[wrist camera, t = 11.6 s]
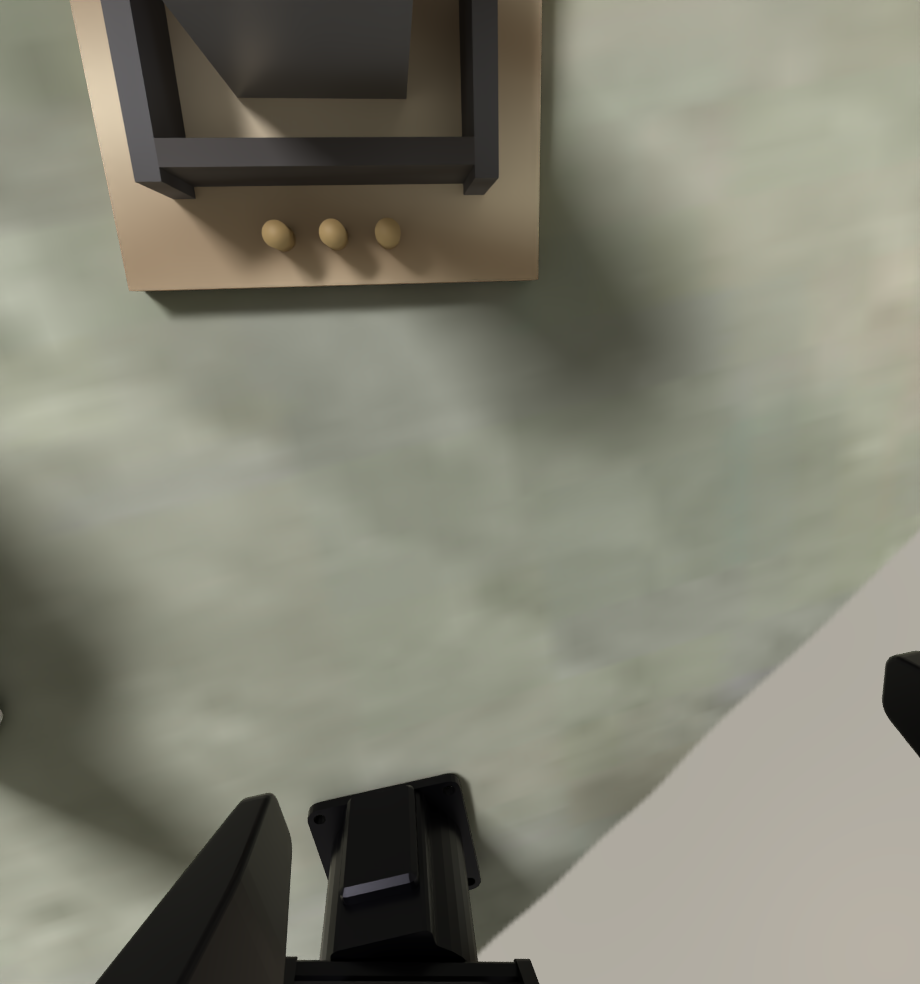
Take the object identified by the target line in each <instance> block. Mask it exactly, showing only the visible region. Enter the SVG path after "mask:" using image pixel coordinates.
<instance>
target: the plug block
mask: <svg viewBox="0 0 920 984" xmlns="http://www.w3.org/2000/svg"><path fill="white" fill-rule="evenodd" d="M162 1H163V2H164V3H165V5H166V6H167V7H168V9H169V10H170V11H171V12H172V14H173V15H174V16H175V18H176V19H177V20H178V21H179V23H180V24H181V25H182V27H183V28H184V29H185V31H186V32H187V33H188V34H189V36H190V37H191V38H192V40H193V41H194V42H195V44H196V45H197V46H198V47H199V49H200V50H201V51H202V53H203V54H204V55H205V56H206V58H207V59H208V60H209V62H210V63H211V64H212V66H213V67H214V68H215V69H216V71H217V72H218V73H219V75H220V76H221V77H222V78H223V80H224V81H225V82H226V84H227V85H228V86H229V88H230V89H231V90H232V91H233V93H234V94H235V95H236V97H237V98H332V99H406V98H407V83H408V68H409V53H410V38H411V23H412V8H413V0H162Z"/></svg>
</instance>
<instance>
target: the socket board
mask: <svg viewBox="0 0 920 984" xmlns="http://www.w3.org/2000/svg"><path fill="white" fill-rule="evenodd" d="M70 4H71V8H72V13H73V18H74V23H75V28H76V33H77V38H78V43H79V48H80V52H81V57H82V62H83V67H84V72H85V77H86V82H87V87H88V92H89V97H90V101H91V106H92V111H93V116H94V121H95V126H96V131H97V136H98V141H99V146H100V150H101V155H102V160H103V165H104V170H105V175H106V180H107V185H108V190H109V195H110V199H111V204H112V209H113V214H114V219H115V224H116V229H117V234H118V239H119V243H120V248H121V253H122V258H123V263H124V268H125V273H126V278H127V283H128V288H129V291H174V290H210V289H245V288H280V287H315V286H350V285H385V284H420V283H455V282H490V281H525V280H537V279H538V258H539V186H540V115H541V43H542V0H413V8H412V23H411V38H410V53H409V68H408V83H407V98H406V99H332V98H237V97H236V95H235V94H234V93H233V91H232V90H231V89H230V88H229V86H228V85H227V84H226V82H225V81H224V80H223V78H222V77H221V76H220V75H219V73H218V72H217V71H216V69H215V68H214V67H213V66H212V64H211V63H210V62H209V60H208V59H207V58H206V56H205V55H204V54H203V53H202V51H201V50H200V49H199V47H198V46H197V45H196V44H195V42H194V41H193V40H192V38H191V37H190V36H189V34H188V33H187V32H186V31H185V29H184V28H183V27H182V25H181V24H180V23H179V21H178V20H177V19H176V18H175V16H174V15H173V14H172V12H171V11H170V10H169V9H168V7H167V6H166V5H165V3H164V2H163V1H162V0H70Z"/></svg>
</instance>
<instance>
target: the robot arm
mask: <svg viewBox="0 0 920 984" xmlns="http://www.w3.org/2000/svg"><path fill="white" fill-rule="evenodd" d="M882 703H883V707H884V710H885V713H886V715H887V716H888V718H889V719H890V721H891V722H892V723H893V725H894V726H895V727H896V728H897V730H898V731H899V732H900V733H901V735H902V736H903V737H904V738H905V740H906V741H907V742H908V743H909V745H910V746H911V747H912V748H913V750H914V751H915V752H916V753H917V754H918V756H919V757H920V651H912V652H908V653H903V654H899V655H894V656H892V657H890V658H889V659H888V660H887V662H886V666H885V677H884V685H883V695H882ZM447 786H452V787H449V788H445V787H447ZM318 815H323V816H318ZM308 824H309V827H310V830H311V833H312V836H313V838H314V841H315V844H316V847H317V850H318V853H319V856H320V859H321V861H322V864H323V867H324V870H325V873H326V876H327V879H328V888H327V897H326V906H325V915H324V924H323V933H322V942H321V951H320V960H297V957H286V941H287V925H288V909H289V893H290V877H291V861H292V843H291V837H290V833H289V830H288V827H287V825H286V822H285V819H284V817H283V814H282V811H281V808H280V806H279V803H278V800H277V798H276V797H275V796H274V794H272V793H265V794H261V795H256V796H252V797H247V798H245V799H243V800H242V801H241V802H240V803H239V804H238V805H237V806H236V807H235V809H234V810H233V811H232V813H231V814H230V815H229V816H228V818H227V819H226V820H225V821H224V823H223V824H222V825H221V826H220V828H219V829H218V830H217V831H216V833H215V834H214V835H213V836H212V838H211V839H210V840H209V841H208V843H207V844H206V845H205V846H204V848H203V849H202V850H201V851H200V853H199V854H198V855H197V856H196V858H195V859H194V860H193V861H192V863H191V864H190V865H189V866H188V868H187V869H186V870H185V871H184V873H183V874H182V875H181V877H180V878H179V879H178V880H177V882H176V883H175V884H174V885H173V887H172V888H171V889H170V890H169V892H168V893H167V894H166V895H165V897H164V898H163V899H162V900H161V902H160V903H159V904H158V905H157V907H156V908H155V909H154V910H153V912H152V913H151V914H150V915H149V917H148V918H147V919H146V920H145V922H144V923H143V924H142V925H141V927H140V928H139V929H138V930H137V932H136V933H135V934H134V935H133V937H132V938H131V939H130V941H129V942H128V943H127V944H126V946H125V947H124V948H123V949H122V951H121V952H120V953H119V954H118V956H117V957H116V958H115V959H114V961H113V962H112V963H111V964H110V966H109V967H108V968H107V969H106V971H105V972H104V973H103V974H102V976H101V977H100V978H99V979H98V981H97V982H96V983H95V984H539V982H538V979H537V977H536V974H535V971H534V969H533V966H532V963H531V961H530V959H514V962H478V958H477V951H476V943H475V935H474V927H473V919H472V912H471V904H470V896H469V890H472V889H474V888H476V887H477V886H479V884H480V882H481V878H480V872H479V867H478V862H477V858H476V853H475V849H474V844H473V840H472V835H471V831H470V826H469V822H468V817H467V813H466V808H465V804H464V799H463V794H462V790H461V785H460V781H459V779H458V777H457V776H455V775H453V774H445V775H440V776H436V777H431V778H427V779H422V780H418V781H413V782H409V783H404V784H400V785H395V786H391V787H386V788H382V789H377V790H373V791H368V792H364V793H359V794H355V795H350V796H346V797H341V798H337V799H332V800H328V801H323V802H319V803H316V804H314V805H312V806H311V807H310V809H309V813H308Z"/></svg>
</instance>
